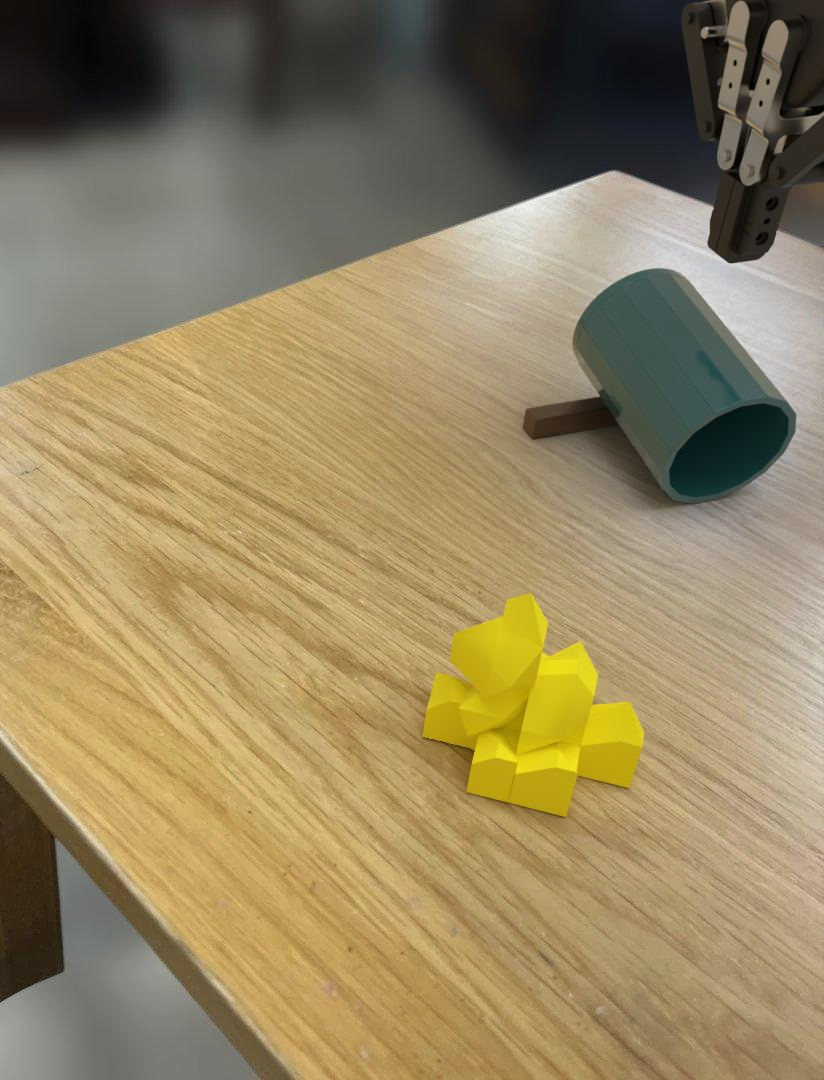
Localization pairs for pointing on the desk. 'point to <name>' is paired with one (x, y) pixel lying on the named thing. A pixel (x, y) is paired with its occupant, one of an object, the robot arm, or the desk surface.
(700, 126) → the robot arm
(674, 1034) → the desk surface
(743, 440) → the cup
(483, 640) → the yellow faceted cluster
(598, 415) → the strip
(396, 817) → the desk surface
